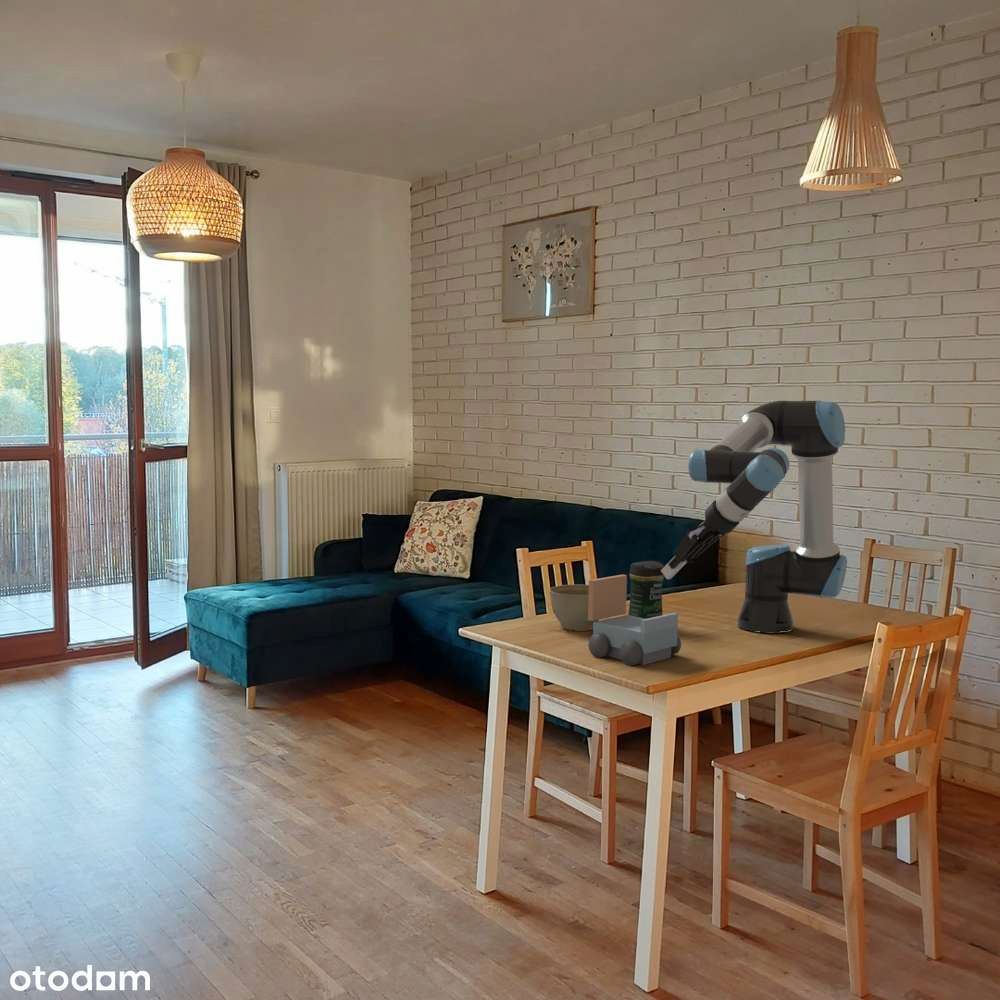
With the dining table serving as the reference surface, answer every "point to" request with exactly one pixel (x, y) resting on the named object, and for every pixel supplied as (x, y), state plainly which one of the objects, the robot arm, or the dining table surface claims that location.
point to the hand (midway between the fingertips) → (665, 574)
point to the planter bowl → (571, 606)
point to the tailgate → (607, 597)
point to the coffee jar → (646, 589)
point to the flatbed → (636, 638)
